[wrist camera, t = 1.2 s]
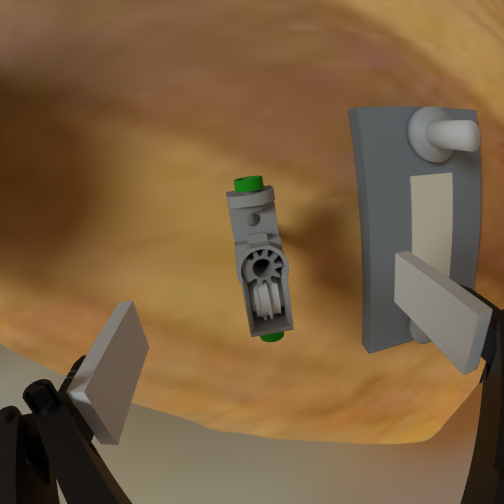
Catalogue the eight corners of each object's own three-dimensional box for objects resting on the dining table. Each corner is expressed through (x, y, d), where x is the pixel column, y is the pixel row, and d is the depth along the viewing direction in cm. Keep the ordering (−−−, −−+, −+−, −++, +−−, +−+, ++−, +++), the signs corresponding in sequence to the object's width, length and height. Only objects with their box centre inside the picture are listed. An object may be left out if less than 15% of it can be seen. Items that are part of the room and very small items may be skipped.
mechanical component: (259, 165, 26) (277, 175, 16) (275, 277, 29) (297, 339, 20) (223, 170, 26) (220, 184, 16) (243, 283, 29) (251, 347, 20)
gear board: (348, 109, 25) (391, 99, 17) (464, 110, 25) (517, 110, 17) (362, 343, 32) (390, 390, 25) (459, 313, 33) (496, 346, 25)
